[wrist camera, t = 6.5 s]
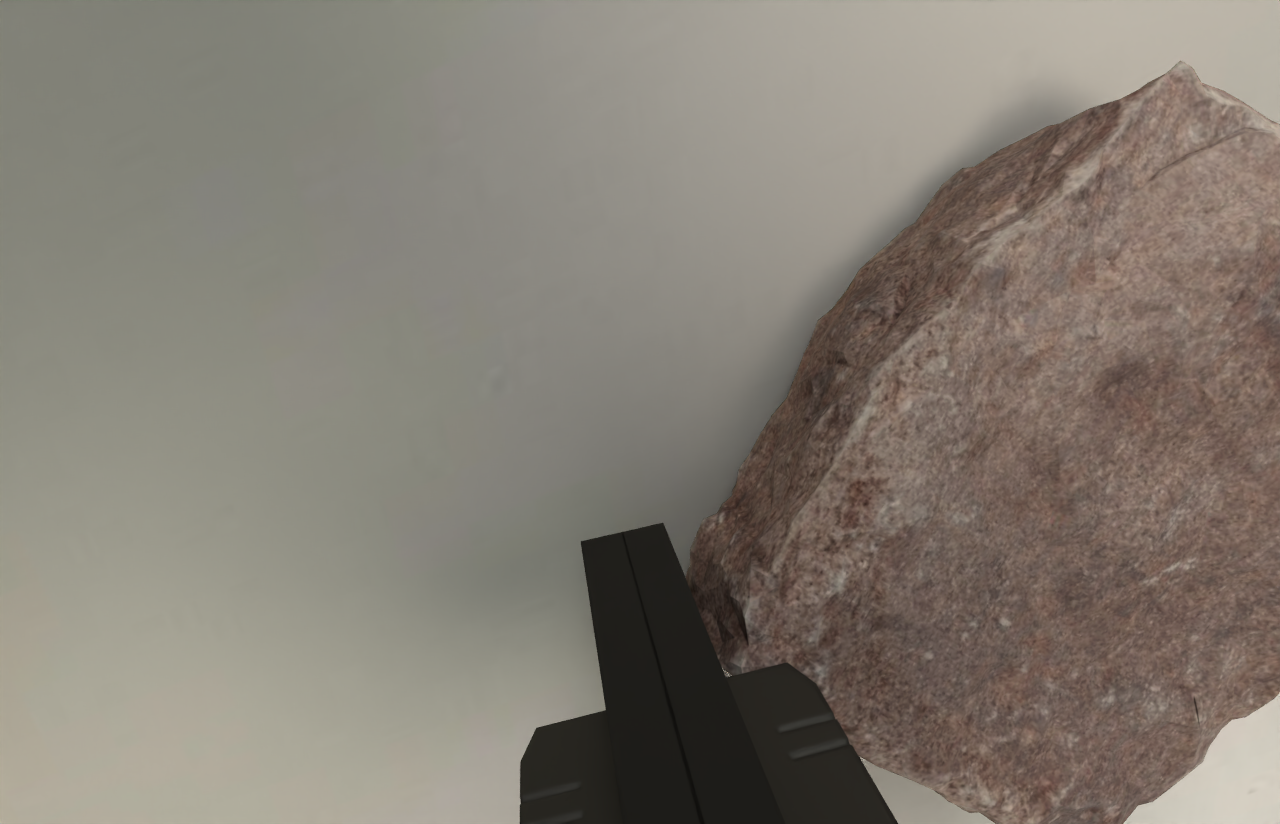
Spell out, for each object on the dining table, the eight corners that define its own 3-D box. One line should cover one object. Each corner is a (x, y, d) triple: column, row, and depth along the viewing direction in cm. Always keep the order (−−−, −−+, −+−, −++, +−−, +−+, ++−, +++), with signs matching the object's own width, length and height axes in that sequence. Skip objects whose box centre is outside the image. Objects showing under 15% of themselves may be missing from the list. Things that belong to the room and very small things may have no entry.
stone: (1017, 23, 12) (1314, -71, 8) (1290, 321, 15) (1624, 379, 10) (615, 561, 14) (663, 739, 9) (926, 734, 17) (1076, 935, 12)
